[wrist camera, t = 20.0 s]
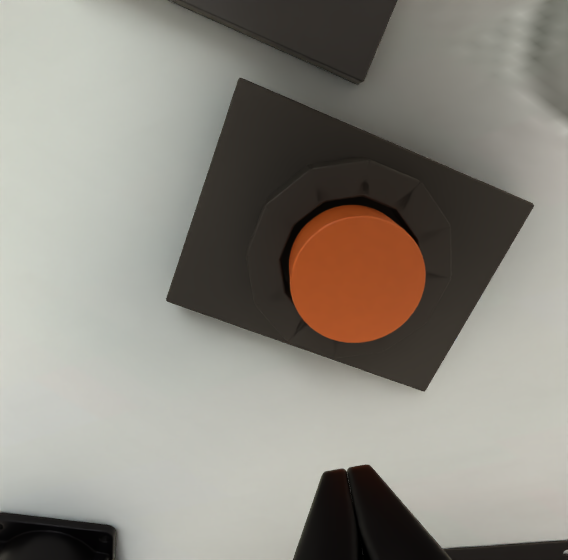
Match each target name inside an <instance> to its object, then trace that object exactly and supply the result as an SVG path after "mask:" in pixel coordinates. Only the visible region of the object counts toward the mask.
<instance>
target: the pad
mask: <svg viewBox="0 0 568 560" xmlns="http://www.w3.org/2000/svg"><path fill="white" fill-rule="evenodd" d="M342 205H362V206H367V207H370V208H373V209H376V210H378V211H380V212H382V213H383V214H385V215H386V216H388V217H389V218H391V219H392V220H393V221H394V222H395V223H397V224H398V225H399V226H400V227H402V228H403V229H404V230H405V231H406V232H407V233H408V234H409V235H410V236H411V237H412V238H413V239H414V241H415V242H416V244H417V245H418V247H419V249H420V251H421V254H422V256H423V260H424V263H425V271H426V278H425V286H424V291H423V294H422V297H421V300H420V302H419V304H418V306H417V308H416V309H415V311H414V312H413V314H412V315H411V316H410V317H409V319H408V320H407V321H406V322H405V323H404V324H403V325H402V326H400V327H399V328H398V329H396V330H395V331H393V332H392V333H390V334H388V335H386V336H384V337H382V338H379V339H376V340H373V341H368V342H362V343H346V342H340V341H336V340H332V339H330V338H327V337H325V336H323V335H321V334H319V333H318V332H316V331H315V330H313V329H312V328H311V327H310V326H309V325H308V324H307V323H306V322H305V321H304V320H303V319H302V317H301V316H300V315H299V313H298V311H297V309H296V308H295V305H294V303H293V300H292V296H291V290H290V276H289V257H290V252H291V249H292V246H293V243H294V241H295V239H296V237H297V235H298V234H299V232H300V231H301V229H302V228H303V227H304V226H305V225H306V224H307V223H308V222H309V221H310V220H311V219H312V218H314V217H315V216H317V215H318V214H320V213H322V212H324V211H326V210H328V209H331V208H334V207H338V206H342ZM533 207H534V205H533V203H530V202H528V201H526V200H524V199H521V198H519V197H517V196H514V195H512V194H510V193H507V192H505V191H503V190H500V189H498V188H496V187H493V186H491V185H489V184H486V183H484V182H482V181H479V180H477V179H475V178H472V177H470V176H468V175H466V174H463V173H461V172H459V171H456V170H454V169H452V168H449V167H447V166H445V165H442V164H440V163H438V162H435V161H433V160H431V159H428V158H426V157H424V156H421V155H419V154H417V153H415V152H412V151H410V150H408V149H405V148H403V147H401V146H398V145H396V144H394V143H391V142H389V141H387V140H384V139H382V138H380V137H377V136H375V135H373V134H370V133H368V132H366V131H363V130H361V129H359V128H357V127H354V126H352V125H350V124H347V123H345V122H343V121H340V120H338V119H336V118H333V117H331V116H329V115H326V114H324V113H322V112H319V111H317V110H315V109H312V108H310V107H308V106H306V105H303V104H301V103H299V102H296V101H294V100H292V99H289V98H287V97H285V96H282V95H280V94H278V93H275V92H273V91H271V90H268V89H266V88H264V87H261V86H259V85H257V84H254V83H252V82H250V81H248V80H245V79H243V78H239V80H238V82H237V85H236V88H235V91H234V94H233V97H232V101H231V104H230V107H229V110H228V113H227V116H226V119H225V122H224V125H223V128H222V131H221V134H220V137H219V140H218V143H217V146H216V149H215V152H214V155H213V158H212V161H211V164H210V167H209V170H208V173H207V177H206V180H205V183H204V186H203V189H202V192H201V195H200V198H199V201H198V204H197V207H196V210H195V213H194V216H193V219H192V222H191V225H190V228H189V231H188V234H187V237H186V240H185V243H184V246H183V249H182V253H181V256H180V259H179V262H178V265H177V268H176V271H175V274H174V277H173V280H172V283H171V286H170V289H169V292H168V295H167V298H166V301H168V302H170V303H173V304H176V305H179V306H182V307H184V308H187V309H190V310H193V311H196V312H199V313H202V314H204V315H207V316H210V317H213V318H216V319H219V320H222V321H224V322H227V323H230V324H233V325H236V326H239V327H241V328H244V329H247V330H250V331H253V332H256V333H259V334H261V335H264V336H267V337H270V338H273V339H276V340H278V341H281V342H284V343H287V344H290V345H293V346H296V347H298V348H301V349H304V350H307V351H310V352H313V353H316V354H318V355H321V356H324V357H327V358H330V359H333V360H335V361H338V362H341V363H344V364H347V365H350V366H353V367H355V368H358V369H361V370H364V371H367V372H370V373H372V374H375V375H378V376H381V377H384V378H387V379H390V380H392V381H395V382H398V383H401V384H404V385H407V386H410V387H412V388H415V389H418V390H421V391H425V390H426V389H427V387H428V385H429V383H430V382H431V380H432V378H433V377H434V375H435V373H436V372H437V370H438V368H439V367H440V365H441V363H442V361H443V360H444V358H445V356H446V355H447V353H448V351H449V350H450V348H451V346H452V344H453V343H454V341H455V339H456V338H457V336H458V334H459V333H460V331H461V329H462V327H463V326H464V324H465V322H466V321H467V319H468V317H469V316H470V314H471V312H472V310H473V309H474V307H475V305H476V304H477V302H478V300H479V299H480V297H481V295H482V293H483V292H484V290H485V288H486V287H487V285H488V283H489V282H490V280H491V278H492V276H493V275H494V273H495V271H496V270H497V268H498V266H499V265H500V263H501V261H502V259H503V258H504V256H505V254H506V253H507V251H508V249H509V248H510V246H511V244H512V242H513V241H514V239H515V237H516V236H517V234H518V232H519V231H520V229H521V227H522V226H523V224H524V222H525V220H526V219H527V217H528V215H529V214H530V212H531V210H532V209H533Z"/></svg>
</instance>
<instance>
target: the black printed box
mask: <svg viewBox="0 0 568 560" xmlns="http://www.w3.org/2000/svg"><path fill="white" fill-rule="evenodd" d="M443 550H444V551H445V552H446V554H447V555H448V556H449V557H450V558H451V559H452V560H568V554H563V552H564V551H565V550H568V541H555V542H540V543H526V544H511V545H497V546H483V547H468V548H454V549H443ZM363 558H364V557H363Z"/></svg>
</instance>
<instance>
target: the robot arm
mask: <svg viewBox="0 0 568 560" xmlns="http://www.w3.org/2000/svg"><path fill="white" fill-rule="evenodd" d="M347 475H348V476H347ZM348 480H349V481H348ZM349 485H350V486H349ZM350 490H351V491H350ZM115 546H116V530H115V529H114V528H113V527H112V526H109V525H102V524H94V523H85V522H77V521H69V520H60V519H52V518H43V517H35V516H26V515H18V514H9V513H0V560H115ZM362 552H363V553H362ZM363 557H364V558H363ZM293 560H452V559H451V558H450V557H449V556H448V555H447V554H446V552H445V551H444V550H443V549H442V548H441V547H440V545H439V544H438V543H437V542H436V541H435V540H434V539H433V537H432V536H431V535H430V534H429V533H428V532H427V530H426V529H425V528H424V527H423V526H422V525H421V523H420V522H419V521H418V520H417V519H416V518H415V517H414V515H413V514H412V513H411V512H410V511H409V510H408V508H407V507H406V506H405V505H404V504H403V503H402V502H401V500H400V499H399V498H398V497H397V496H396V495H395V493H394V492H393V491H392V490H391V489H390V488H389V486H388V485H387V484H386V483H385V482H384V481H383V480H382V478H381V477H380V476H379V475H378V474H377V473H376V471H375V470H374V469H373V468H372V467H371V466H370V465H360V466H354V467H350V468H348V470H347V472H346V470H345V469H337V470H331V471H326V472H324V473H323V474H322V477H321V479H320V482H319V485H318V488H317V491H316V494H315V497H314V500H313V503H312V506H311V508H310V511H309V514H308V517H307V520H306V523H305V526H304V529H303V532H302V535H301V538H300V540H299V543H298V546H297V549H296V552H295V555H294V558H293Z"/></svg>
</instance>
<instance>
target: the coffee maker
mask: <svg viewBox="0 0 568 560" xmlns="http://www.w3.org/2000/svg"><path fill="white" fill-rule="evenodd" d="M169 1H171V2H173V3H176V4H178V5H180V6H182V7H185V8H187V9H189V10H191V11H194V12H196V13H198V14H200V15H203V16H205V17H207V18H209V19H212V20H214V21H216V22H218V23H221V24H223V25H225V26H227V27H230V28H232V29H234V30H236V31H239V32H241V33H243V34H245V35H247V36H250V37H252V38H254V39H256V40H259V41H261V42H263V43H265V44H268V45H270V46H272V47H274V48H277V49H279V50H281V51H283V52H286V53H288V54H290V55H292V56H295V57H297V58H299V59H301V60H304V61H306V62H308V63H310V64H313V65H315V66H317V67H319V68H322V69H324V70H326V71H328V72H331V73H333V74H335V75H337V76H339V77H342V78H344V79H346V80H348V81H351V82H353V83H355V84H360V83H362V82H363V81H364V79H365V77H366V75H367V72H368V70H369V67H370V65H371V63H372V60H373V58H374V55H375V53H376V51H377V48H378V46H379V43H380V41H381V39H382V36H383V34H384V31H385V29H386V27H387V24H388V22H389V19H390V17H391V15H392V12H393V10H394V7H395V5H396V3H397V0H169Z"/></svg>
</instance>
